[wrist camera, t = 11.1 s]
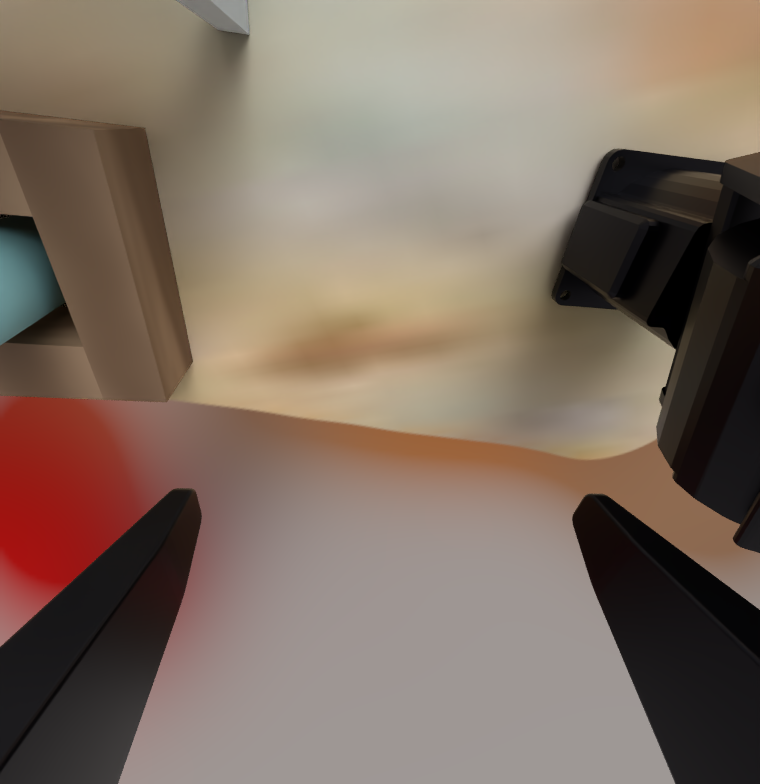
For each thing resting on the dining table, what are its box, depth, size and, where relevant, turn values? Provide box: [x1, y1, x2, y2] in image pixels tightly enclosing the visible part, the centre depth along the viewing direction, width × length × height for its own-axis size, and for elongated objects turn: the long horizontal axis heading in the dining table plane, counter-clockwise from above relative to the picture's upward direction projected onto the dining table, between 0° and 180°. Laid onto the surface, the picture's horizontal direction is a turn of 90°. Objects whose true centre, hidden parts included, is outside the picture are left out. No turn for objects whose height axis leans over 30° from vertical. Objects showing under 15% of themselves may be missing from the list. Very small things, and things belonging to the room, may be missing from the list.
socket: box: [0, 111, 193, 402], centre depth 15 cm, size 10×10×4 cm
